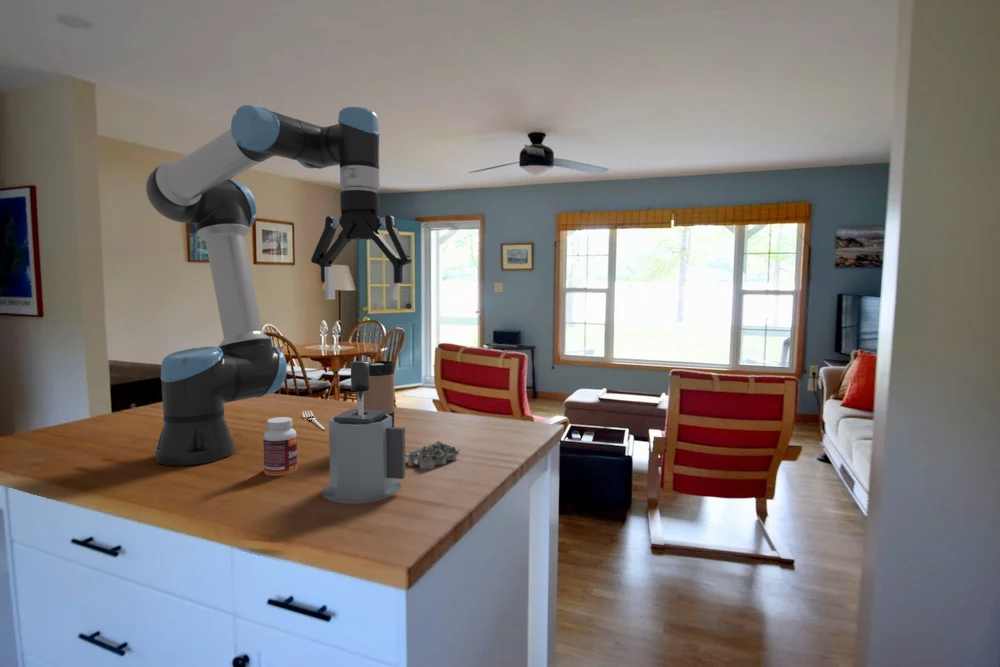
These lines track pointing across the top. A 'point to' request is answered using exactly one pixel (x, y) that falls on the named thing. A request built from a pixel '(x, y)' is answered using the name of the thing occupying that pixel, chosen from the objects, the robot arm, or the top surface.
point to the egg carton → (431, 455)
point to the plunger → (360, 382)
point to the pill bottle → (280, 447)
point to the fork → (313, 419)
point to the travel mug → (380, 388)
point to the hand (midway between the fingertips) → (361, 299)
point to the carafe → (365, 454)
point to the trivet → (332, 497)
